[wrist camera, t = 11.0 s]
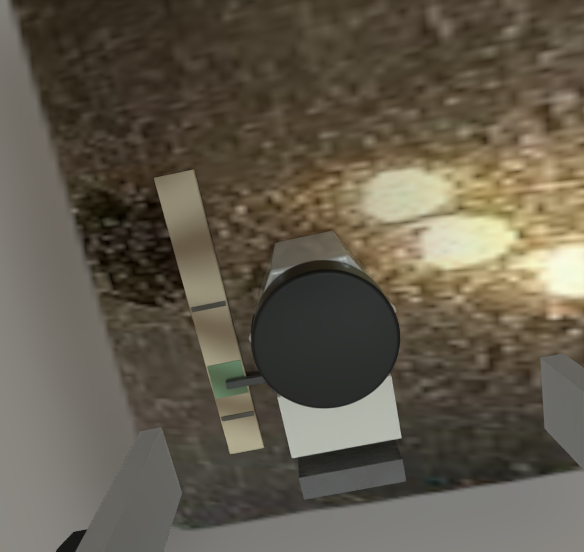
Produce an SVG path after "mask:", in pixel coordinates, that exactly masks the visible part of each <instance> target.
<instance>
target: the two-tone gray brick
mask: <svg viewBox="0 0 584 552" xmlns="http://www.w3.org/2000/svg"><path fill="white" fill-rule="evenodd" d="M298 463H299V480H300V484H301V488H302V493H303V497H304V499H310V498H316V497H321V496H327V495H332V494H338V493H343V492H349V491H354V490H360V489H365V488H371V487H377V486H382V485H388V484H393V483H399V482H404V481H406V478H405V472H404V466H403V460H402V457H401V454H400V452H399V449H398V446H397V444H396V441H395V439H394V440H388V441H383V442H378V443H372V444H367V445H361V446H356V447H350V448H345V449H340V450H334V451H329V452H323V453H318V454H312V455H307V456H302V457H298Z"/></svg>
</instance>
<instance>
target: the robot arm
mask: <svg viewBox="0 0 584 552" xmlns="http://www.w3.org/2000/svg"><path fill="white" fill-rule="evenodd" d="M540 360H541V376H542V392H543V409H544V425H545V429H546V430H547V431H548V433H549V434H550V435H551V436H552V437H553V438H554V439H555V440H556V441H557V442H558V443H559V444H560V445H561V446H562V447H563V448H564V449H565V450H566V451H567V453H568V454H569V455H570V456H571V457H572V458H573V459H574V460H575V461H576V462H577V463H578V464H579V465H580V466H581V467H582V468H583V469H584V368H583V367H581V366H580V365H579V364H577V363H576V362H574V361H573V360H572V359H570V358H569V357H567V356H566V355H565V354H558V355H553V356H547V357H542V358H540ZM181 494H182V492H181V488H180V485H179V482H178V479H177V476H176V472H175V469H174V466H173V463H172V460H171V456H170V453H169V450H168V447H167V444H166V440H165V437H164V434H163V431H162V428H156V429H150V430H145V431H140V433H139V434H138V436H137V438H136V440H135V442H134V444H133V446H132V447H131V449H130V451H129V453H128V455H127V457H126V459H125V460H124V462H123V464H122V466H121V468H120V470H119V472H118V473H117V475H116V477H115V479H114V481H113V483H112V485H111V486H110V488H109V490H108V492H107V494H106V496H105V498H104V499H103V501H102V503H101V505H100V507H99V509H98V511H97V512H96V514H95V516H94V518H93V520H92V522H91V524H90V526H89V528H88V529H87V530H81V531H76V532H73V533H72V534H71V535H70V536H69V537H68V538H67V540H66V541H64V542H63V544H62V545H61V546H60V547H59V548H58V549H57V551H56V552H163V551H164V548H165V545H166V542H167V539H168V536H169V532H170V529H171V526H172V523H173V520H174V516H175V513H176V510H177V507H178V504H179V501H180V497H181Z"/></svg>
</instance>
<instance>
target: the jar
mask: <svg viewBox="0 0 584 552" xmlns="http://www.w3.org/2000/svg"><path fill="white" fill-rule="evenodd" d="M249 340H250V342H251V348H252V354H253V358H254V361H255V364H256V366H257V368H258V370H259V372H260V374H261V376H262V377H263V379H264V380H265V381H266V383H267V384H268V385H269V386H270V387H271V388H272V389H273V390H274V391H275V392H277V393H278V394H279V395H281V396H282V397H284V398H286V399H287V400H289V401H291V402H294V403H296V404H299V405H302V406H306V407H311V408H320V409H328V408H337V407H342V406H346V405H349V404H352V403H355V402H357V401H359V400H361V399H363V398H365V397H366V396H368V395H369V394H371V393H372V392H373V391H375V390H376V389H377V388H378V387H379V386H380V385H381V384H382V383H383V382H384V380H385V379H386V378H387V377H388V375H389V373H390V372H391V370H392V368H393V366H394V364H395V362H396V359H397V356H398V352H399V346H400V329H399V323H398V319H397V316H396V308H395V307H394V305H393V304H392V303H391V301H390V300H389V298H388V297H387V296H386V294H385V293H384V292H383V290H382V289H381V288H380V286H379V285H378V283H377V282H376V281H375V279H374V278H373V277H372V275H371V274H370V272H369V271H368V270H367V269H366V268H365V267H364V265H363V264H362V263H361V262H360V261H359V260H358V259H357V257H356V256H355V255H354V254H353V253H352V252H351V251H350V250H349V248H348V247H347V246H346V245H345V244H344V243H343V242H342V240H341V239H340V238H339V237H338V236H337V235H336V234H335V232H333V231H328V232H323V233H319V234H314V235H309V236H304V237H300V238H295V239H290V240H285V241H280V242H276V243H275V245H274V248H273V251H272V254H271V257H270V260H269V263H268V266H267V269H266V272H265V275H264V279H263V282H262V285H261V288H260V291H259V294H258V299H257V303H256V308H255V312H254V315H253V320H252V325H251V331H250V335H249Z"/></svg>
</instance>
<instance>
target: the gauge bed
mask: <svg viewBox="0 0 584 552" xmlns="http://www.w3.org/2000/svg"><path fill="white" fill-rule="evenodd" d="M154 180H155V184H156V188H157V191H158V195H159V199H160V202H161V206H162V209H163V213H164V217H165V220H166V224H167V227H168V231H169V235H170V238H171V242H172V246H173V249H174V253H175V256H176V260H177V264H178V267H179V271H180V274H181V278H182V282H183V285H184V289H185V292H186V296H187V300H188V303H189V307H190V311H191V314H192V318H193V321H194V325H195V329H196V332H197V336H198V339H199V343H200V347H201V350H202V354H203V358H204V361H205V365H206V368H207V372H208V376H209V379H210V383H211V386H212V390H213V394H214V397H215V401H216V404H217V408H218V412H219V415H220V419H221V423H222V426H223V430H224V433H225V437H226V441H227V444H228V448H229V451H230V454H233V453H239V452H244V451H249V450H255V449H260V448H264V443H263V439H262V435H261V431H260V427H259V423H258V419H257V415H256V411H255V407H254V403H253V399H252V395H251V391H250V387H249V386H245V387H239V388H234V389H229V390H227V388H226V384H225V383H226V380H231V379H236V378H241V377H246V372H245V368H244V364H243V360H242V356H241V352H240V348H239V344H238V340H237V336H236V332H235V328H234V324H233V320H232V316H231V312H230V308H229V304H228V301H227V297H226V293H225V289H224V285H223V281H222V277H221V273H220V269H219V265H218V261H217V257H216V253H215V249H214V245H213V241H212V237H211V233H210V229H209V226H208V222H207V218H206V214H205V210H204V206H203V202H202V198H201V194H200V190H199V186H198V182H197V178H196V174H195V170H189V171H184V172H180V173H175V174H170V175H166V176H161V177H156V178H154Z"/></svg>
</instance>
